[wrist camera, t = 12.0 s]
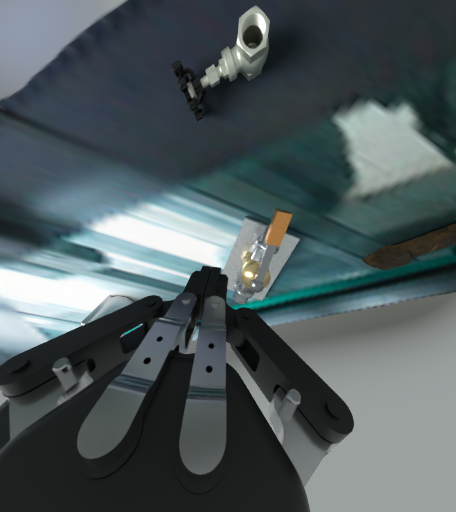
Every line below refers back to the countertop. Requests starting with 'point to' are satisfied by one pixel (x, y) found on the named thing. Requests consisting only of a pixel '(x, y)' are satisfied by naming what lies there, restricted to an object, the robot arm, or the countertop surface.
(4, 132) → the countertop surface
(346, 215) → the countertop surface
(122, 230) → the countertop surface
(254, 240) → the valve manifold
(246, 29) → the valve
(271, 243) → the valve lever
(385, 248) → the hand tool
